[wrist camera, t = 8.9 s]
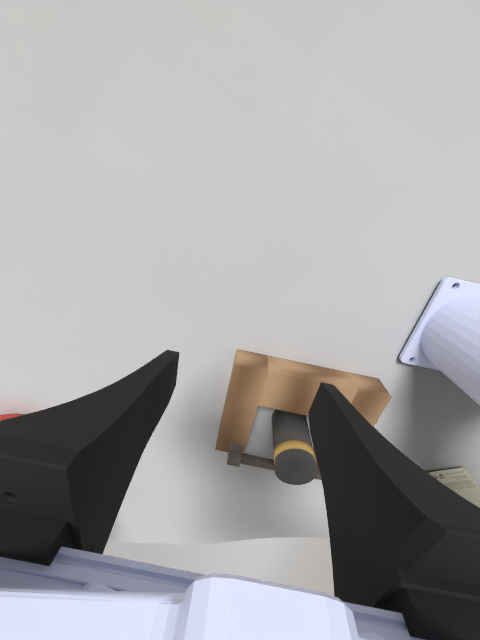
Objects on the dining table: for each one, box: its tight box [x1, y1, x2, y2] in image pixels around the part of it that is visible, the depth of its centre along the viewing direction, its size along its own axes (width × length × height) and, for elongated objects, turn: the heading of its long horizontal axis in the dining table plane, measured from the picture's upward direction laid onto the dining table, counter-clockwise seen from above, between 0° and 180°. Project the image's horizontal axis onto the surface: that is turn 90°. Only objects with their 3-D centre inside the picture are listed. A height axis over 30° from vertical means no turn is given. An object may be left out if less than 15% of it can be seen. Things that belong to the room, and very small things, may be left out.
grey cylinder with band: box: [272, 409, 317, 485], centre depth 24 cm, size 4×4×6 cm
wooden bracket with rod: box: [215, 349, 391, 480], centre depth 24 cm, size 14×11×4 cm
